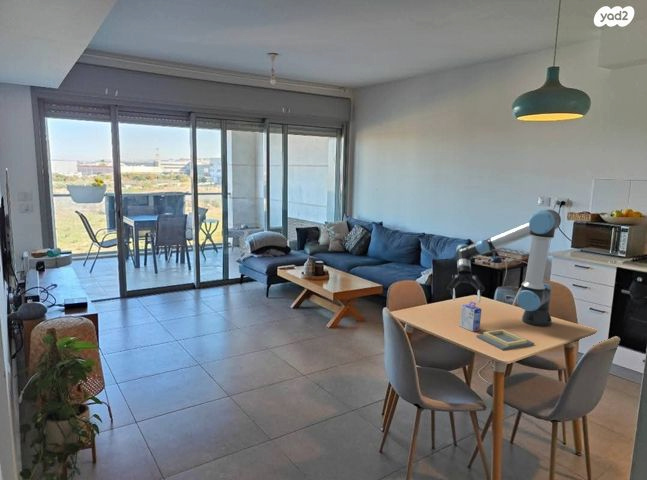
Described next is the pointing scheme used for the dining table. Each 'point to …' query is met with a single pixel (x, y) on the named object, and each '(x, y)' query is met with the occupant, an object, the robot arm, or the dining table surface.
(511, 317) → the dining table surface
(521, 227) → the robot arm
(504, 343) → the dock
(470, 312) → the ink cartridge box
